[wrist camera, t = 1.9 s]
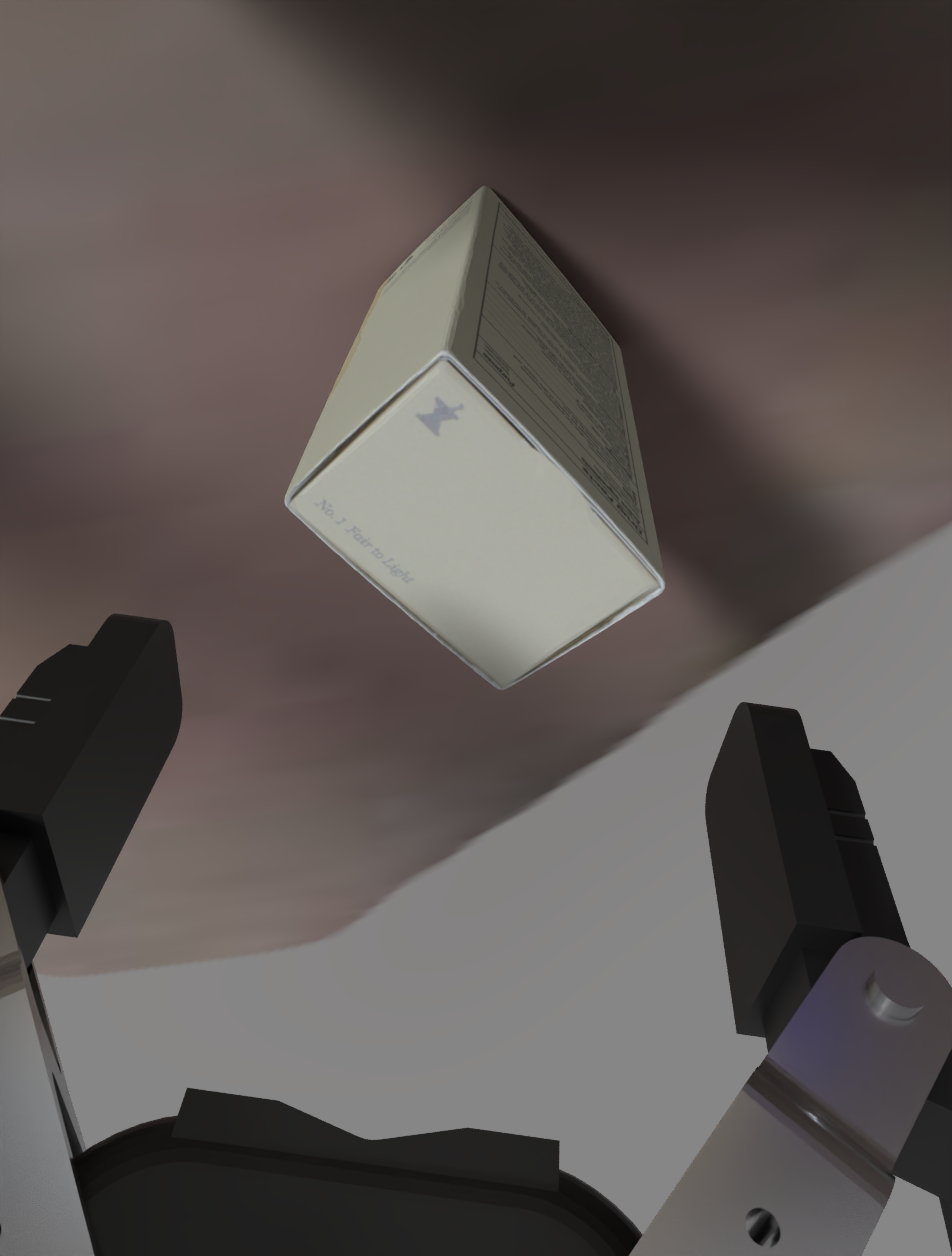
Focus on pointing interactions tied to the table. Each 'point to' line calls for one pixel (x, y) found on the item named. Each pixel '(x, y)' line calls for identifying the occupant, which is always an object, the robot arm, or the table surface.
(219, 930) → the table surface
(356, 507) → the skincare box
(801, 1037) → the robot arm
